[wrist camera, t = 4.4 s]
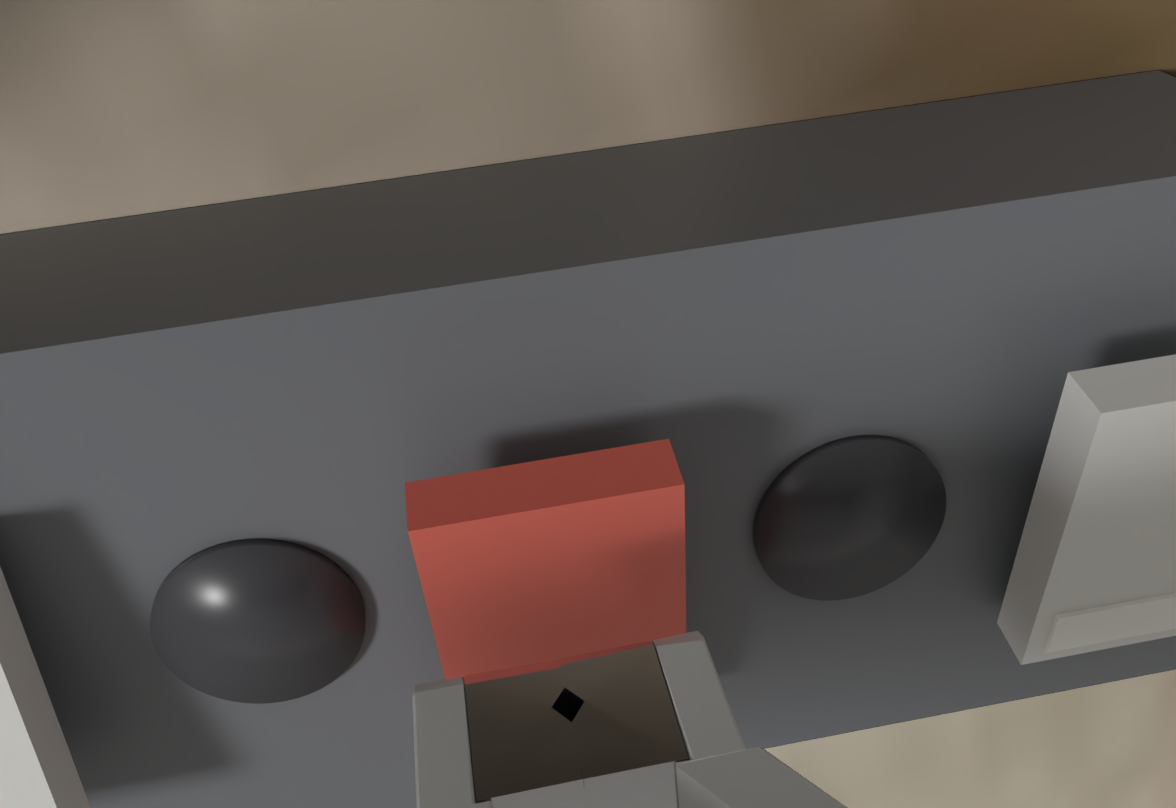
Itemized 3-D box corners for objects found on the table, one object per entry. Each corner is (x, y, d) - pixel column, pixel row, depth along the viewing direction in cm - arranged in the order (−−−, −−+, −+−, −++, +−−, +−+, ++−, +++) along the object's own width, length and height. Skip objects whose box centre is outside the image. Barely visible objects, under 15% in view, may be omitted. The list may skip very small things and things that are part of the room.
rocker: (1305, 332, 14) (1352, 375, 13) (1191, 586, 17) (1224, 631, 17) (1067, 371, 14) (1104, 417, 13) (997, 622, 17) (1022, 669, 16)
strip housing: (1158, 70, 17) (1357, 153, 14) (1076, 522, 22) (1208, 671, 18) (-550, 313, 15) (-835, 485, 12) (-233, 756, 20) (-366, 975, 16)
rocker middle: (669, 438, 13) (686, 488, 13) (674, 683, 17) (688, 732, 16) (404, 482, 13) (409, 535, 12) (462, 722, 16) (469, 774, 16)
